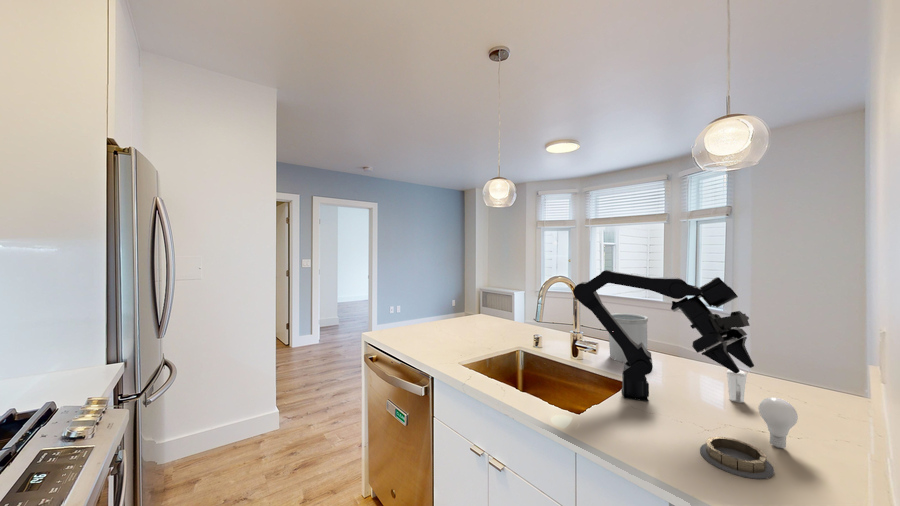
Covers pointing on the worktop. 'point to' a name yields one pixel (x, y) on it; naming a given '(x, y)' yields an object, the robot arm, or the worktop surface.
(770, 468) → the socket mat
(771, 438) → the lightbulb
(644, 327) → the utensil holder
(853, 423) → the worktop surface
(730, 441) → the socket collar
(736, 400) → the milkshake
